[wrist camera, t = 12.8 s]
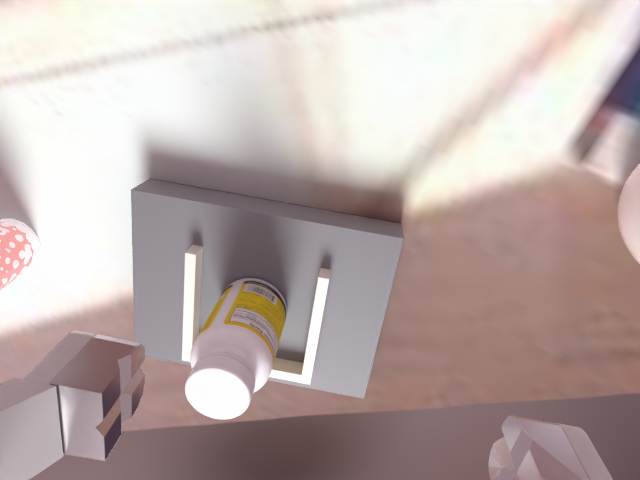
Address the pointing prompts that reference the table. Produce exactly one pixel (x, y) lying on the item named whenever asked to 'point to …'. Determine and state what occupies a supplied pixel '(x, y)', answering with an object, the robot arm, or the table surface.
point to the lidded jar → (630, 213)
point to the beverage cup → (16, 250)
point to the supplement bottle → (236, 348)
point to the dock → (263, 277)
